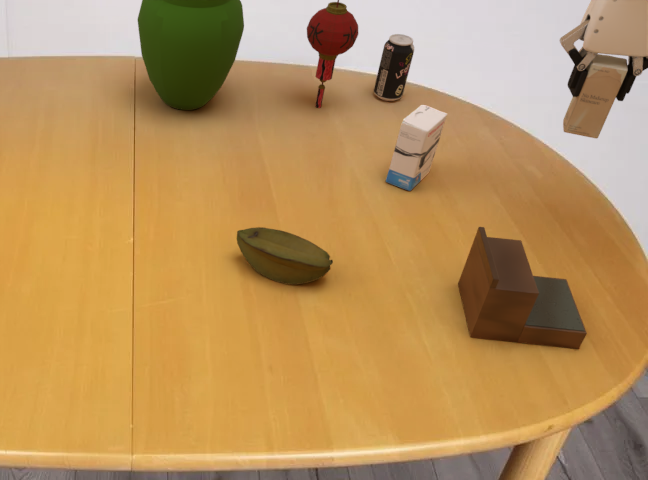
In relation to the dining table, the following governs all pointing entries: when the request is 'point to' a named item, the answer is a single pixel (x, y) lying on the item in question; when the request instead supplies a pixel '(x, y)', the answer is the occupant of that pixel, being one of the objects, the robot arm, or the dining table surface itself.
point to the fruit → (283, 255)
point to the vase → (189, 47)
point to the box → (595, 96)
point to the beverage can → (394, 67)
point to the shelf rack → (516, 297)
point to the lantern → (330, 39)
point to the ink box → (416, 147)
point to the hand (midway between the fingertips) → (595, 93)
